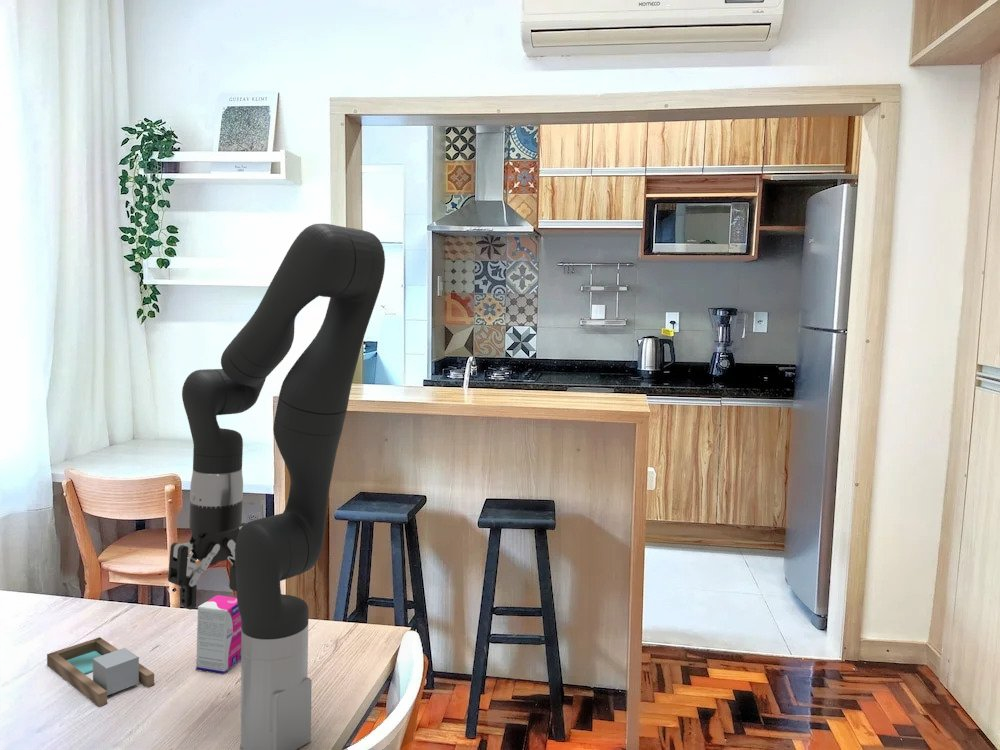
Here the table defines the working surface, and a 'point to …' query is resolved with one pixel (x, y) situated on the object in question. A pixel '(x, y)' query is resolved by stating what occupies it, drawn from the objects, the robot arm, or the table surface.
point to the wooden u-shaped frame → (88, 668)
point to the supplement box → (218, 635)
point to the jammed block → (116, 670)
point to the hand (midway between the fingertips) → (213, 598)
